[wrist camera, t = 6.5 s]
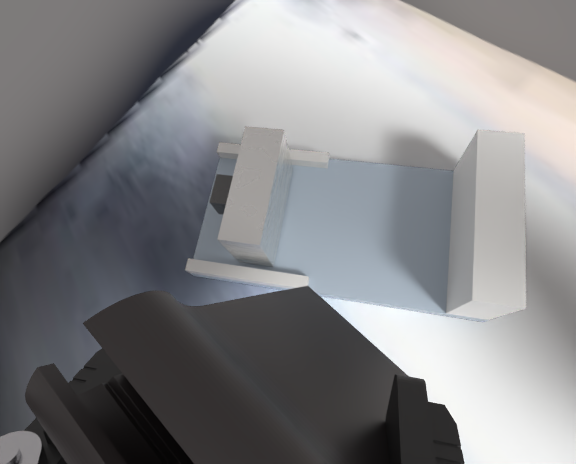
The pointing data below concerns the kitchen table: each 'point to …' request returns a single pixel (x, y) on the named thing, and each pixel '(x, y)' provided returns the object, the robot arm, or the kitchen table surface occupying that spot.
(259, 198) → the block
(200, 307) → the phone stand
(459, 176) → the vise body
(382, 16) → the kitchen table surface
